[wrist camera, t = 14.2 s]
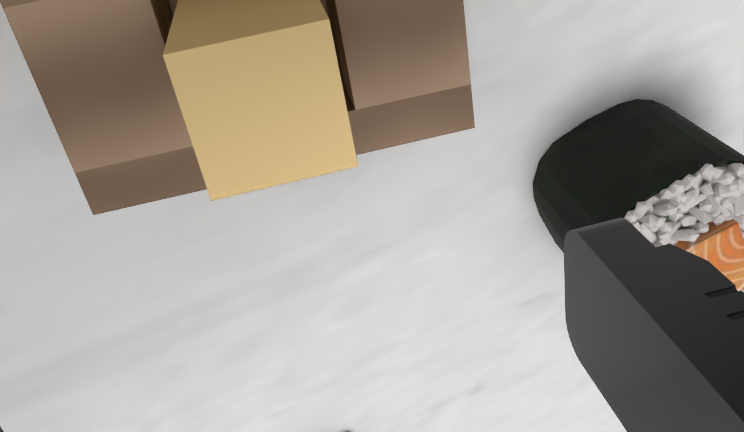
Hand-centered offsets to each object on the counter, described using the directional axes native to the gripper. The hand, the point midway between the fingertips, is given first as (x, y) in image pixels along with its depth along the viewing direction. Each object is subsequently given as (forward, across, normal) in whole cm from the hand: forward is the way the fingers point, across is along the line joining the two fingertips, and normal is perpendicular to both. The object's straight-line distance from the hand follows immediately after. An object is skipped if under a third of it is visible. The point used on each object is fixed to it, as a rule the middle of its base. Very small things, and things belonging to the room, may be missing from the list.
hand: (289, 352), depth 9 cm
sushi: (+20, -15, +12) cm, 28 cm away
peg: (+19, 0, 0) cm, 19 cm away
